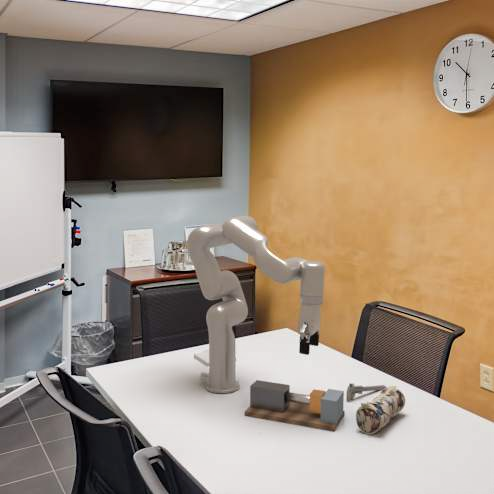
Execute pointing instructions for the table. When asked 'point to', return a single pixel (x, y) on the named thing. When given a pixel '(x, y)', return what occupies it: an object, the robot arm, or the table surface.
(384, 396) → the pencil case
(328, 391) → the socket
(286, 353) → the table surface
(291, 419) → the board
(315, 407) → the tube
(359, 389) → the caliper
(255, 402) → the sleeve
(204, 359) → the mounting plate
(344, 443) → the table surface
